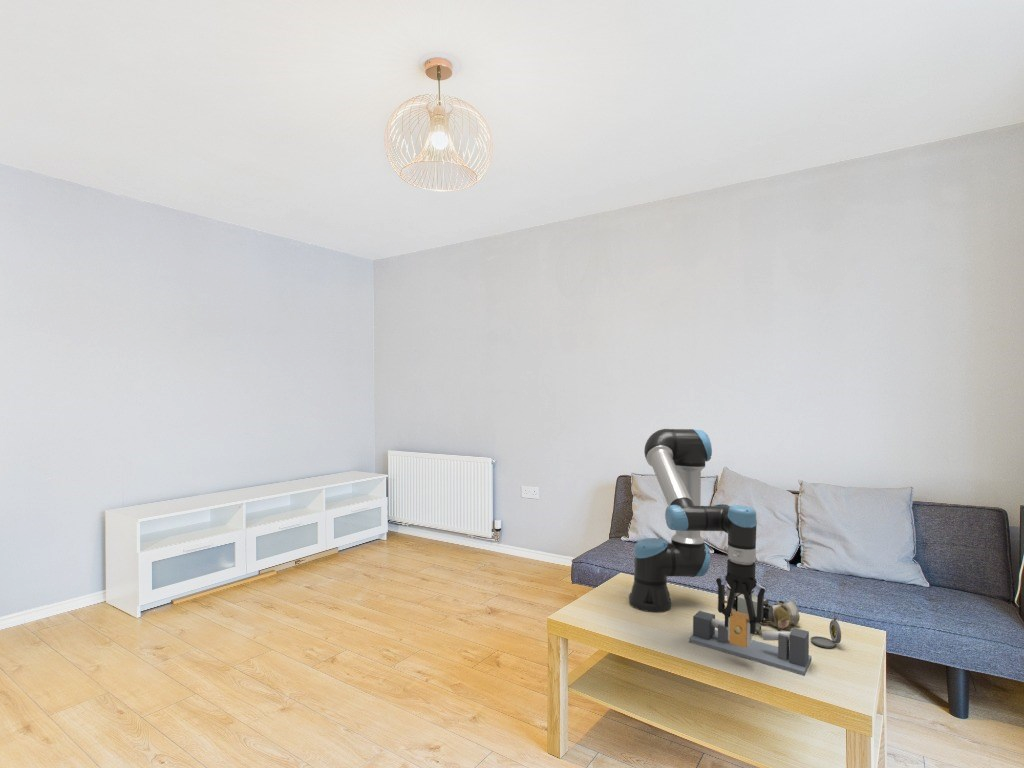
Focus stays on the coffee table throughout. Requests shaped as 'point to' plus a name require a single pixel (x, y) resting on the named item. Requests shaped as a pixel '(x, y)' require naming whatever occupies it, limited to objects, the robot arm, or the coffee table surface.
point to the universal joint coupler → (738, 628)
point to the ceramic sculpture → (784, 615)
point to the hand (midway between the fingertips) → (739, 641)
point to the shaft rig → (755, 644)
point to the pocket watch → (834, 632)
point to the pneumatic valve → (742, 607)
